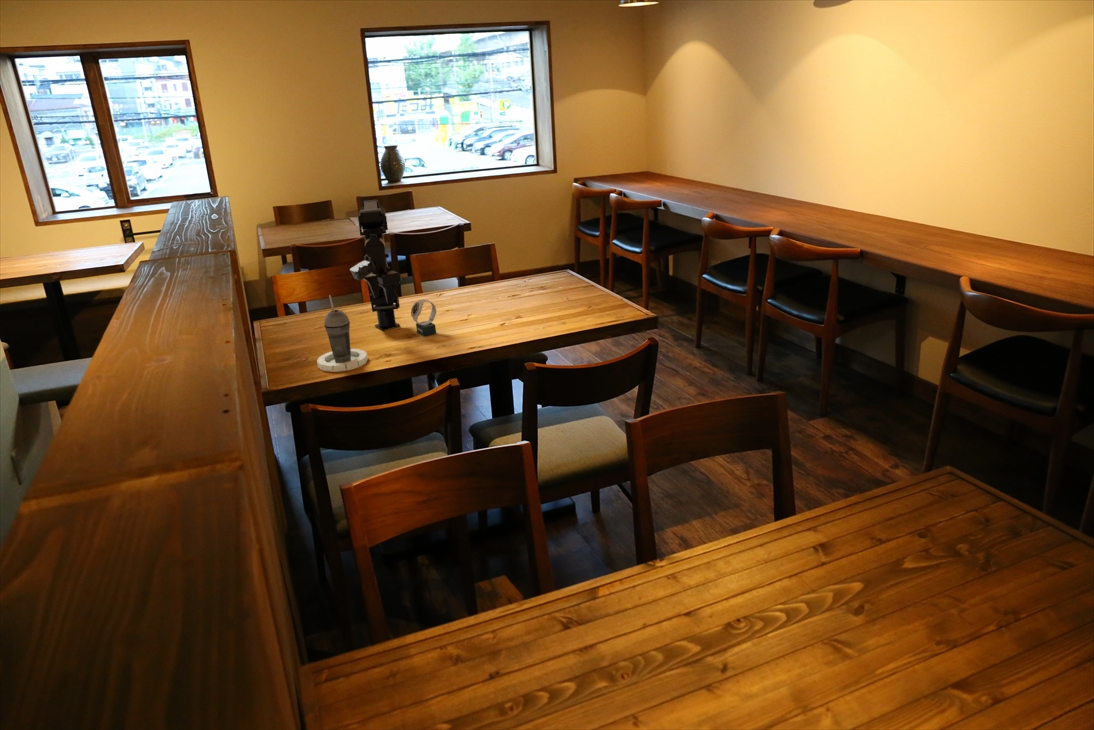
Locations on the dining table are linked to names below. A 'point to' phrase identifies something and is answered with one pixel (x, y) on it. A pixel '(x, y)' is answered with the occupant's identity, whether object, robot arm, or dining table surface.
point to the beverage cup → (338, 334)
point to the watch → (427, 326)
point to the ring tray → (328, 363)
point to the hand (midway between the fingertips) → (382, 300)
